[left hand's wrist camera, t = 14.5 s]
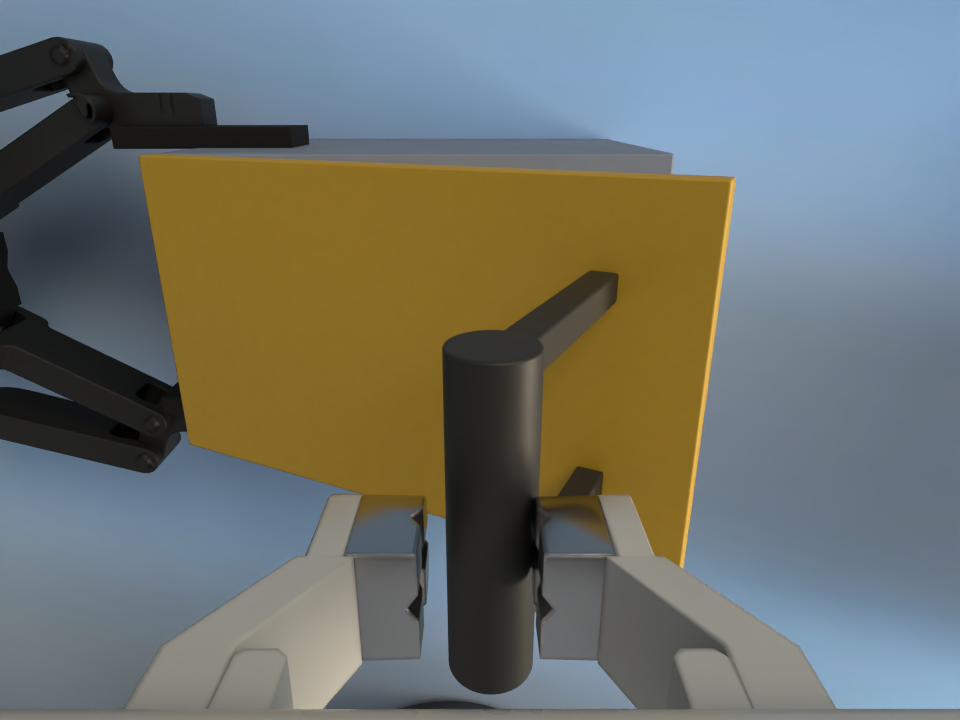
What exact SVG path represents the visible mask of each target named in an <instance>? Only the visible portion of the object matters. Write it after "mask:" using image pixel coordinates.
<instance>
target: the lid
mask: <svg viewBox="0 0 960 720" xmlns="http://www.w3.org/2000/svg"><path fill="white" fill-rule="evenodd" d="M139 162H140V168H141V173H142V179H143V185H144V190H145V196H146V201H147V207H148V213H149V218H150V224H151V230H152V235H153V241H154V246H155V252H156V258H157V263H158V269H159V275H160V280H161V286H162V292H163V297H164V303H165V308H166V314H167V320H168V325H169V331H170V337H171V342H172V348H173V353H174V359H175V365H176V370H177V376H178V382H179V387H180V393H181V398H182V404H183V410H184V415H185V421H186V427H187V432H188V438H189V443H190V444H191V445H194V446H198V447H201V448H205V449H208V450H212V451H215V452H219V453H222V454H226V455H229V456H232V457H236V458H239V459H243V460H246V461H250V462H253V463H257V464H260V465H264V466H267V467H271V468H274V469H277V470H281V471H284V472H288V473H291V474H295V475H298V476H302V477H305V478H309V479H312V480H315V481H319V482H322V483H326V484H329V485H333V486H336V487H340V488H343V489H347V490H350V491H353V492H357V493H360V494H364V495H412V496H426V503H427V513H429V514H433V515H436V516H440V517H443V518H446V556H447V602H448V649H449V666H450V670H451V672H452V674H453V675H454V677H455V678H456V680H457V681H458V682H459V683H460V684H462V685H463V686H464V687H466V688H467V689H470V690H472V691H474V692H477V693H482V694H501V693H505V692H508V691H511V690H513V689H515V688H517V687H518V686H519V685H521V684H522V683H523V682H524V681H525V680H526V678H527V677H528V675H529V674H530V671H531V669H532V663H533V638H534V613H535V611H536V608H537V606H536V605H535V604H534V602H533V591H532V545H533V542H534V540H535V536H534V528H533V506H534V497H544V496H584V495H611V494H628V495H629V496H631V498H632V501H633V503H634V506H635V508H636V511H637V513H638V516H639V518H640V521H641V523H642V526H643V528H644V531H645V533H646V536H647V538H648V541H649V543H650V546H651V548H652V551H653V553H654V556H664V557H666V558H667V559H669V560H670V561H672V562H673V563H675V564H676V565H678V566H679V567H681V568H682V569H683V566H684V559H685V552H686V544H687V537H688V529H689V522H690V515H691V507H692V500H693V493H694V485H695V478H696V470H697V463H698V456H699V448H700V441H701V434H702V426H703V419H704V411H705V404H706V397H707V389H708V382H709V374H710V367H711V360H712V352H713V345H714V338H715V330H716V323H717V315H718V308H719V301H720V293H721V286H722V279H723V271H724V264H725V256H726V249H727V242H728V234H729V227H730V219H731V212H732V205H733V197H734V190H735V183H736V178H735V177H725V176H700V175H675V174H649V173H624V172H599V171H574V170H549V169H524V168H499V167H474V166H448V165H423V164H398V163H373V162H348V161H323V160H298V159H272V158H247V157H222V156H197V155H172V154H152V155H140V156H139Z"/></svg>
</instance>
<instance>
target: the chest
mask: <svg viewBox="0 0 960 720" xmlns="http://www.w3.org/2000/svg"><path fill="white" fill-rule="evenodd" d="M159 154H172V155H197V156H222V157H247V158H272V159H298V160H323V161H348V162H373V163H398V164H423V165H448V166H474V167H499V168H524V169H549V170H574V171H599V172H624V173H649V174H672V170H673V160H674V155H673V154H672V153H667V152H663V151H658V150H654V149H649V148H645V147H640V146H635V145H631V144H626V143H622V142H617V141H613V140H608V139H309V145H304V146H300V147H295V148H195V149H188V150H181V151H174V152H167V153H159Z"/></svg>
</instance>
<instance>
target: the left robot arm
mask: <svg viewBox="0 0 960 720" xmlns="http://www.w3.org/2000/svg"><path fill="white" fill-rule="evenodd" d="M426 527H427V503H426V496H412V495H364V496H363V495H362V494H335V495H332V496H330V497H329V498H328V500H327V502H326V505H325V508H324V510H323V513H322V515H321V518H320V520H319V523H318V525H317V528H316V530H315V533H314V535H313V538H312V540H311V543H310V545H309V548H308V550H307V553H306V556H296V557H294V558H293V559H291V560H290V561H288V562H287V563H285V564H284V565H282V566H281V567H279V568H278V569H276V570H275V571H273V572H272V573H270V574H269V575H267V576H266V577H264V578H263V579H261V580H260V581H258V582H257V583H255V584H254V585H252V586H251V587H249V588H247V589H246V590H244V591H243V592H241V593H240V594H238V595H237V596H235V597H234V598H232V599H231V600H229V601H228V602H226V603H225V604H223V605H222V606H220V607H219V608H217V609H216V610H214V611H213V612H211V613H210V614H208V615H207V616H205V617H204V618H202V619H201V620H199V621H198V622H196V623H195V624H193V625H192V626H190V627H189V628H187V629H186V630H184V631H183V632H181V633H180V634H178V635H177V636H175V637H174V638H172V639H170V640H169V641H167V642H166V643H164V644H163V645H161V647H160V649H159V650H158V652H157V654H156V655H155V657H154V659H153V660H152V662H151V664H150V665H149V667H148V669H147V670H146V672H145V673H144V675H143V677H142V678H141V680H140V682H139V683H138V685H137V687H136V688H135V690H134V692H133V693H132V695H131V697H130V698H129V700H128V702H127V703H126V705H125V707H124V708H123V709H0V720H960V709H837V708H836V707H835V705H834V703H833V702H832V700H831V698H830V697H829V695H828V693H827V692H826V690H825V688H824V687H823V685H822V683H821V682H820V680H819V678H818V677H817V675H816V673H815V672H814V670H813V668H812V666H811V665H810V663H809V661H808V660H807V658H806V656H805V655H804V653H803V651H802V650H801V648H800V646H798V645H796V644H795V643H793V642H792V641H790V640H789V639H787V638H786V637H784V636H783V635H781V634H780V633H778V632H777V631H775V630H774V629H772V628H771V627H769V626H768V625H766V624H765V623H763V622H762V621H760V620H759V619H757V618H756V617H754V616H753V615H751V614H750V613H748V612H747V611H745V610H744V609H742V608H741V607H739V606H738V605H736V604H735V603H733V602H732V601H730V600H729V599H727V598H726V597H724V596H723V595H721V594H720V593H718V592H717V591H715V590H714V589H712V588H711V587H709V586H708V585H706V584H705V583H703V582H702V581H700V580H699V579H697V578H696V577H694V576H693V575H691V574H690V573H688V572H687V571H685V570H684V569H682V568H681V567H679V566H678V565H676V564H675V563H673V562H672V561H670V560H669V559H667V558H666V557H664V556H654V553H653V551H652V548H651V546H650V543H649V541H648V538H647V536H646V533H645V531H644V528H643V526H642V523H641V521H640V518H639V516H638V513H637V511H636V508H635V506H634V503H633V501H632V498H631V496H629V495H628V494H611V495H584V496H544V497H534V506H533V528H534V536H535V540H534V542H533V545H532V591H533V602H534V604H535V605H536V606H537V608H536V629H537V637H538V646H539V654H540V659H562V660H598V664H599V665H600V666H601V668H602V669H603V670H604V671H605V672H606V673H607V674H608V676H609V677H610V678H611V679H612V680H613V681H614V683H615V684H616V685H617V686H618V687H619V688H620V689H621V691H622V692H623V693H624V694H625V695H626V696H627V698H628V699H629V700H630V701H631V702H632V703H633V704H634V706H635V707H636V708H637V709H323V708H324V707H325V706H326V705H327V704H328V703H329V701H330V700H331V699H332V698H333V697H334V696H335V694H336V693H337V692H338V691H339V690H340V689H341V688H342V686H343V685H344V684H345V683H346V682H347V681H348V680H349V678H350V677H351V676H352V675H353V674H354V673H355V671H356V670H357V669H358V668H359V667H360V666H361V665H362V660H397V659H420V655H421V646H422V637H423V629H424V609H423V606H424V605H425V604H426V601H427V591H428V572H429V555H428V542H427V541H426V540H425V536H426Z"/></svg>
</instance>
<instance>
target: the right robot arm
mask: <svg viewBox="0 0 960 720" xmlns="http://www.w3.org/2000/svg"><path fill="white" fill-rule="evenodd" d="M112 69H113V60H112V56H111V54H110V53H109V51H108V50H107V49H106V48H105V47H103V46H102V45H99V44H96V43H90V42H85V41H79V40H73V39H68V38H62V37H52V38H49V39H46V40H43V41H40V42H38V43H35V44H32V45H29V46H26V47H23V48H20V49H17V50H14V51H12V52H9V53H6V54H3V55H0V112H2V111H5V110H8V109H11V108H14V107H17V106H20V105H23V104H26V103H29V102H32V101H35V100H38V99H41V98H44V97H47V96H50V95H52V94H55V93H58V92H61V91H64V90H67V89H69V91H70V93H68V94H66V95H67V96H68V97H73V99H72V100H70V101H69V102H68V103H66V104H65V105H63V106H62V107H61V108H59V109H58V110H56V111H55V112H54V113H52V114H51V115H49V116H48V117H46V118H45V119H44V120H42V121H41V122H39V123H38V124H37V125H35V126H34V127H32V128H31V129H30V130H28V131H27V132H25V133H24V134H23V135H21V136H20V137H18V138H17V139H15V140H14V141H13V142H11V143H10V144H8V145H7V146H6V147H4V148H3V149H1V150H0V219H2V218H3V217H5V216H6V215H7V214H9V213H10V212H12V211H13V210H15V209H16V208H17V207H18V206H19V203H20V202H21V201H22V200H24V199H25V198H27V197H28V196H30V195H31V194H33V193H34V192H36V191H37V190H38V189H40V188H41V187H43V186H44V185H46V184H47V183H49V182H50V181H52V180H53V179H55V178H56V177H57V176H59V175H60V174H62V173H63V172H65V171H66V170H68V169H69V168H71V167H72V166H73V165H75V164H76V163H78V162H79V161H81V160H82V159H84V158H85V157H87V156H88V155H89V154H91V153H92V152H94V151H95V150H97V149H98V148H100V147H101V146H103V145H104V144H105V143H107V142H108V141H110V140H111V139H112V142H113V147H114V149H195V148H295V147H300V146H304V145H309V135H308V125H217V119H216V112H215V104H214V99H212V98H210V97H207V96H205V95H202V94H197V93H133V92H130V91H128V90H127V89H125V88H124V87H123V86H122V85H121V84H120V82H119V81H118V79H117V78H116V76H115V74H114V72H113V70H112ZM7 255H8V250H7V246H6V242H5V238H4V234H3V232H0V369H4V370H7V371H10V372H12V373H14V374H16V375H18V376H21V377H23V378H25V379H27V380H29V381H31V382H34V383H36V384H38V385H40V386H42V387H44V388H47V389H49V390H51V391H53V392H55V393H57V394H60V395H62V396H64V397H66V398H68V399H70V400H67V399H63V398H59V397H55V396H51V395H46V394H42V393H38V392H34V391H30V390H25V389H20V388H11V387H0V439H3V440H7V441H11V442H15V443H20V444H24V445H28V446H32V447H36V448H41V449H45V450H49V451H53V452H57V453H62V454H66V455H70V456H74V457H79V458H83V459H87V460H91V461H95V462H100V463H104V464H108V465H112V466H116V467H121V468H125V469H129V470H133V471H138V472H142V473H150V472H153V471H154V470H155V469H157V467H158V466H159V465H160V464H161V463H162V462H163V461H164V459H165V458H166V457H167V456H168V455H169V454H170V453H171V452H172V450H173V449H174V448H175V447H176V446H177V445H178V444H179V442H180V440H181V435H180V433H179V432H185V431H187V427H186V421H185V415H184V410H183V404H182V398H181V393H180V387H179V382H178V383H176V384H175V385H174V386H173V387H172V386H170V385H168V384H166V383H164V382H162V381H160V380H158V379H155V378H153V377H151V376H149V375H147V374H145V373H143V372H141V371H139V370H137V369H135V368H132V367H130V366H128V365H126V364H124V363H122V362H120V361H118V360H116V359H114V358H112V357H110V356H107V355H105V354H103V353H101V352H99V351H97V350H95V349H93V348H91V347H89V346H87V345H85V344H82V343H80V342H78V341H76V340H74V339H72V338H70V337H68V336H66V335H64V334H62V333H60V332H57V331H55V330H53V329H51V328H50V327H49V326H48V322H47V321H46V320H45V319H44V318H42V317H40V316H38V315H36V314H34V313H32V312H30V311H28V310H26V309H24V308H21V307H19V306H17V305H19V304H21V300H20V296H19V292H18V288H17V286H16V284H15V282H14V280H13V278H12V276H11V274H10V273H9V271H8V268H7ZM71 400H73V401H71ZM405 709H495V708H492V707H488V706H485V705H480V704H474V703H467V702H450V701H449V702H433V703H426V704H421V705H416V706H412V707H408V708H405Z"/></svg>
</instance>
